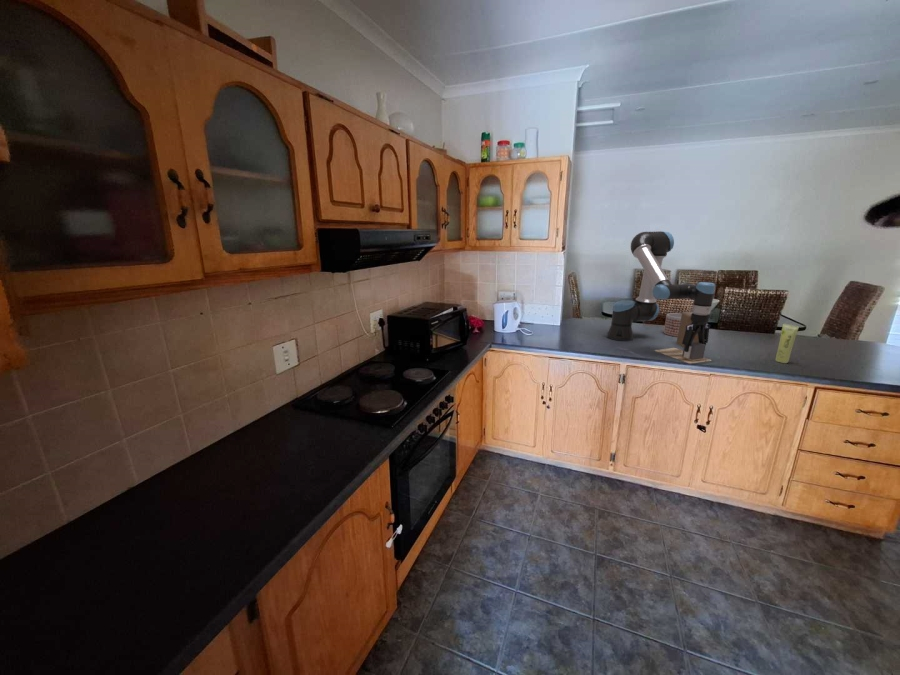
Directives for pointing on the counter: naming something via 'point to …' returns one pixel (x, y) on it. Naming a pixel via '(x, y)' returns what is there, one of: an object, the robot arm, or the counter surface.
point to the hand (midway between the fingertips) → (692, 356)
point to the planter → (672, 324)
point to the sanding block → (695, 351)
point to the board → (679, 355)
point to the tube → (786, 342)
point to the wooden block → (683, 323)
